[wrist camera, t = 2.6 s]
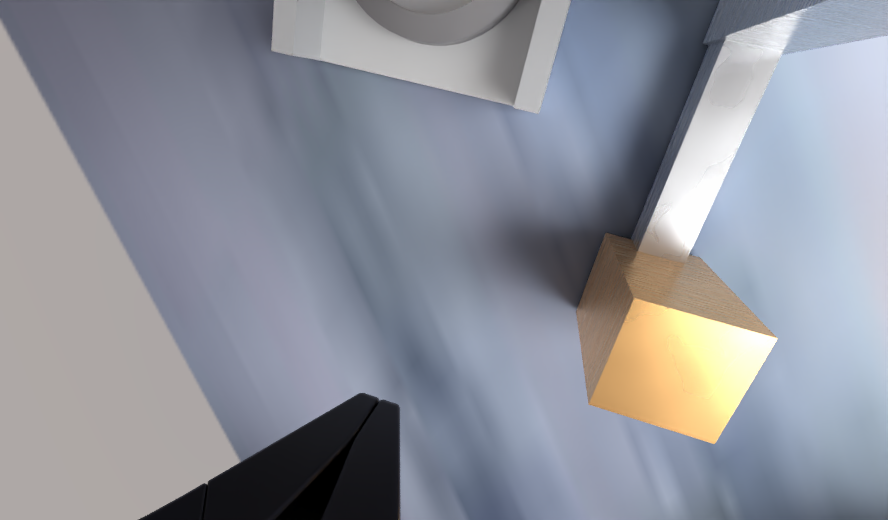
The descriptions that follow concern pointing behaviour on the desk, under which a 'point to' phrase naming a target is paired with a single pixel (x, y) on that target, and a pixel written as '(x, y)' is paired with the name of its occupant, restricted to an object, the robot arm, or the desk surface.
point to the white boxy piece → (678, 224)
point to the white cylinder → (438, 18)
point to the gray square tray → (431, 48)
